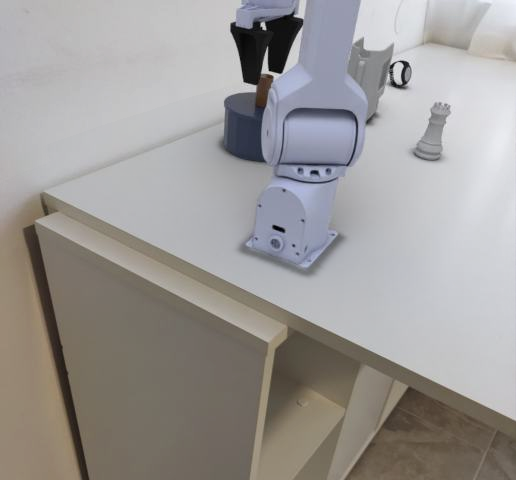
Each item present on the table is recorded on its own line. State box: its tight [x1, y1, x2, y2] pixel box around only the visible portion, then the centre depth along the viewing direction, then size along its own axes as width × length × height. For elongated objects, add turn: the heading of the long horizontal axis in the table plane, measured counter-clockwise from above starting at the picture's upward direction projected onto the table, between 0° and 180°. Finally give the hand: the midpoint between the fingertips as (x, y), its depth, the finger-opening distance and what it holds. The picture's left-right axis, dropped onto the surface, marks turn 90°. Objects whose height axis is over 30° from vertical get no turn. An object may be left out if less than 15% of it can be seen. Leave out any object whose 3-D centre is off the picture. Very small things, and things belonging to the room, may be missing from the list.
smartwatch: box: [388, 60, 413, 88], centre depth 115 cm, size 4×5×5 cm
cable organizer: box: [347, 36, 395, 122], centre depth 96 cm, size 7×12×12 cm, turn 157°
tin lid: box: [223, 73, 275, 122], centre depth 79 cm, size 12×12×5 cm
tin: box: [222, 108, 266, 162], centre depth 82 cm, size 11×11×6 cm
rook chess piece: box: [413, 101, 452, 161], centre depth 85 cm, size 4×4×8 cm
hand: (263, 77), depth 77 cm, fingers open, 7 cm apart
